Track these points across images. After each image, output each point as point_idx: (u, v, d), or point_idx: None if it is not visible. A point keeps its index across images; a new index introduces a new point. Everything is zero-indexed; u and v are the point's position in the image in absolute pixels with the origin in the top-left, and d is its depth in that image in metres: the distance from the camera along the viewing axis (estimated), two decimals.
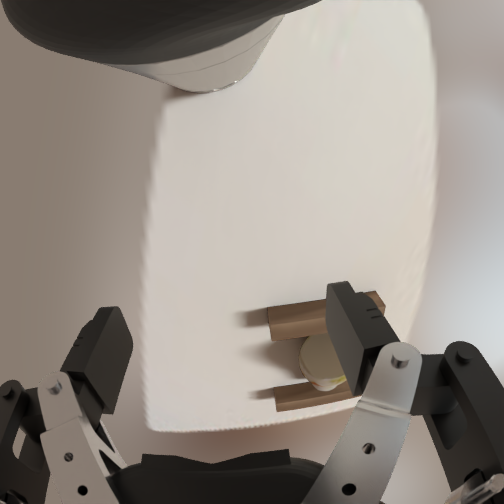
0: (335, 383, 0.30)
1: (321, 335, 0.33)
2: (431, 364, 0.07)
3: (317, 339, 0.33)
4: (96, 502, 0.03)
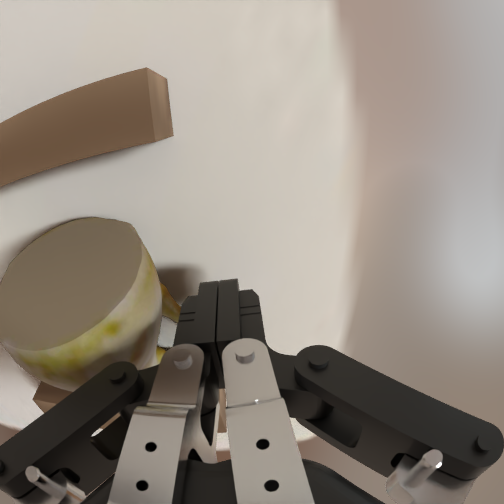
0: (44, 376, 0.07)
1: (73, 230, 0.11)
2: (287, 365, 0.07)
3: (59, 237, 0.10)
4: None
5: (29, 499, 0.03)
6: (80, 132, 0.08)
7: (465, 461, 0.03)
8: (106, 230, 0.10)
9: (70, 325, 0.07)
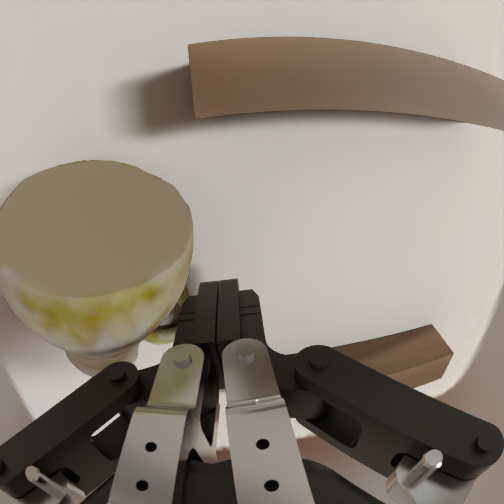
0: (41, 324, 0.06)
1: (109, 170, 0.10)
2: (287, 365, 0.07)
3: (92, 172, 0.09)
4: None
5: (29, 499, 0.03)
6: (473, 102, 0.08)
7: (465, 461, 0.03)
8: (149, 185, 0.10)
9: (101, 277, 0.07)
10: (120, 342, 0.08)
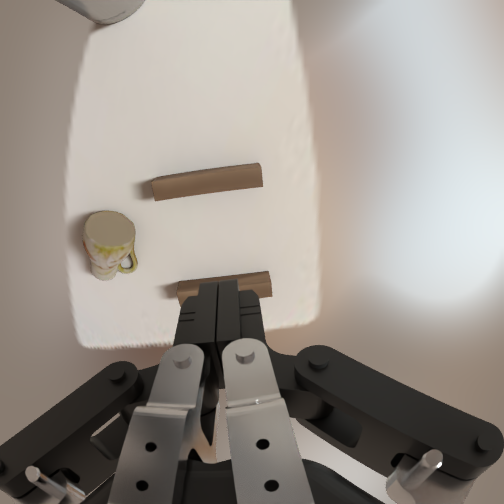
0: (97, 251, 0.32)
1: (115, 215, 0.36)
2: (287, 365, 0.07)
3: (110, 215, 0.35)
4: None
5: (29, 499, 0.03)
6: (240, 181, 0.34)
7: (465, 461, 0.03)
8: (126, 221, 0.36)
9: (112, 243, 0.33)
10: (113, 259, 0.34)
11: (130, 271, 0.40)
